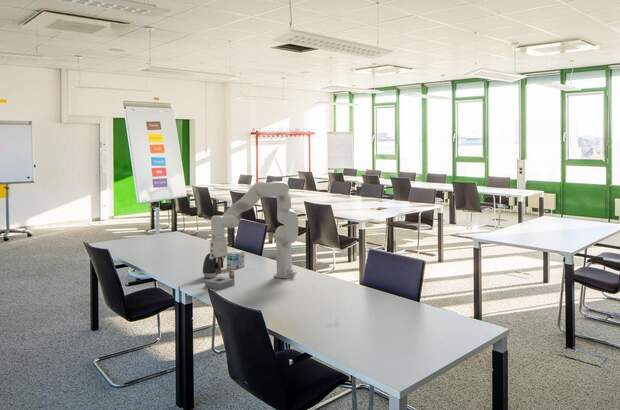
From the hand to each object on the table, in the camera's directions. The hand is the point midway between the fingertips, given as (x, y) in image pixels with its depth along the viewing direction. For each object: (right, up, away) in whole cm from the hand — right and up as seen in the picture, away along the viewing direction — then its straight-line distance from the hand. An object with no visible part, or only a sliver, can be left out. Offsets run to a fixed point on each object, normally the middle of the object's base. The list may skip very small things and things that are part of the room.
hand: (218, 267), depth 286 cm
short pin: (+5, -9, +18) cm, 20 cm away
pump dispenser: (-9, -9, +21) cm, 25 cm away
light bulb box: (+3, -6, +46) cm, 46 cm away
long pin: (0, -3, 0) cm, 3 cm away
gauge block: (0, -11, +1) cm, 11 cm away
